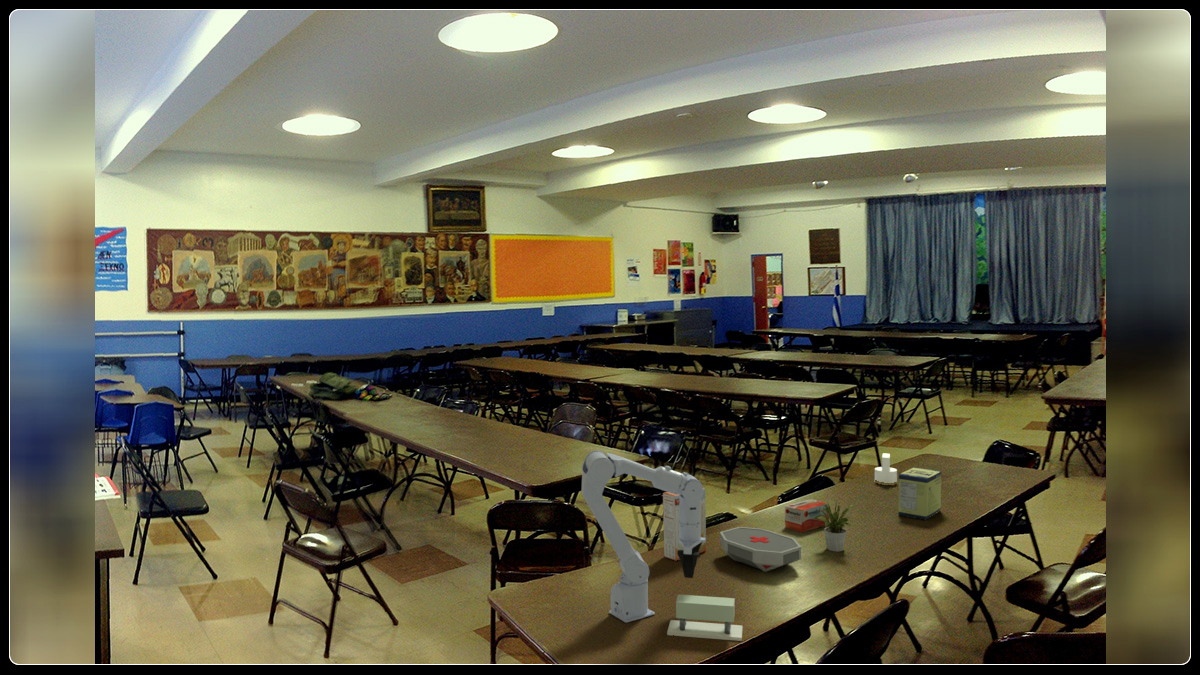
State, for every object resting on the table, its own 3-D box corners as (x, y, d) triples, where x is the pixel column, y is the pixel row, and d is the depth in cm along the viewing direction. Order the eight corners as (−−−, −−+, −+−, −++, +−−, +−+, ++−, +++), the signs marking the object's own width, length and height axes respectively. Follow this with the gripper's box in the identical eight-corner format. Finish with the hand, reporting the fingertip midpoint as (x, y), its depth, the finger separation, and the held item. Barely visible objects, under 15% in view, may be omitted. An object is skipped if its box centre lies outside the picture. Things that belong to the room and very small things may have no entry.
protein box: (941, 511, 298) (942, 470, 297) (926, 521, 286) (927, 478, 285) (913, 506, 305) (913, 466, 304) (897, 515, 293) (898, 474, 292)
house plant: (804, 552, 254) (804, 502, 253) (812, 539, 267) (813, 491, 266) (850, 558, 248) (851, 507, 247) (856, 545, 261) (857, 496, 259)
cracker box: (693, 547, 260) (693, 484, 259) (706, 551, 256) (706, 487, 254) (662, 556, 251) (662, 491, 250) (676, 561, 247) (675, 495, 245)
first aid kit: (710, 558, 250) (771, 581, 230) (710, 534, 250) (771, 555, 230) (748, 546, 261) (810, 568, 241) (748, 524, 260) (810, 543, 240)
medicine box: (810, 519, 290) (810, 498, 289) (829, 524, 284) (829, 502, 283) (784, 527, 281) (784, 505, 280) (802, 533, 274) (803, 510, 274)
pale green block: (676, 618, 196) (676, 602, 195) (678, 609, 200) (678, 594, 200) (733, 622, 193) (733, 606, 192) (734, 614, 198) (734, 598, 197)
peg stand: (667, 634, 195) (667, 619, 195) (670, 623, 202) (670, 607, 202) (741, 640, 192) (741, 624, 191) (742, 628, 198) (742, 613, 198)
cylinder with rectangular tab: (896, 486, 335) (897, 458, 335) (874, 484, 339) (874, 456, 338) (896, 481, 344) (897, 454, 343) (874, 479, 347) (875, 452, 346)
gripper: (703, 530, 202) (703, 583, 202) (707, 514, 216) (707, 563, 217) (675, 529, 203) (675, 581, 204) (681, 513, 217) (681, 562, 218)
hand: (690, 572), depth 210 cm, fingers open, 7 cm apart
